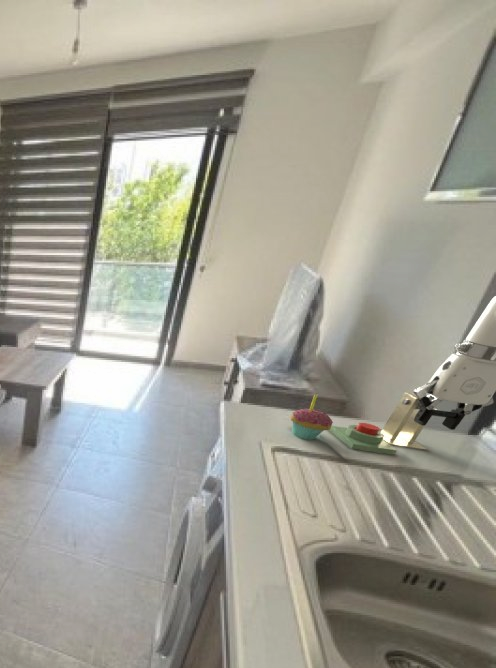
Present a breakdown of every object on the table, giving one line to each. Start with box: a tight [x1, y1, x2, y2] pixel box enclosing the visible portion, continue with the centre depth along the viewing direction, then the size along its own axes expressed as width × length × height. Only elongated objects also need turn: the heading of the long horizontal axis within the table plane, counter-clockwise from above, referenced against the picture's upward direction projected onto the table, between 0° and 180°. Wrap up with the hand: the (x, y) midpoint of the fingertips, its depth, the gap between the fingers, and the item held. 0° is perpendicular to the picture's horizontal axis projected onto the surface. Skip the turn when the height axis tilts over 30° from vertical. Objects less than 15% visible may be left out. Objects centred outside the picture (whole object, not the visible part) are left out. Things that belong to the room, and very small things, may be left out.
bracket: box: [379, 392, 440, 451], centre depth 122 cm, size 10×8×13 cm
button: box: [356, 422, 380, 436], centre depth 120 cm, size 4×4×2 cm
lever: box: [415, 402, 458, 418], centre depth 117 cm, size 10×5×2 cm, turn 165°
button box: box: [329, 424, 397, 456], centre depth 121 cm, size 11×9×4 cm
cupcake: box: [289, 391, 334, 440], centre depth 123 cm, size 9×8×12 cm
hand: (433, 424), depth 115 cm, fingers closed on lever, 5 cm apart
